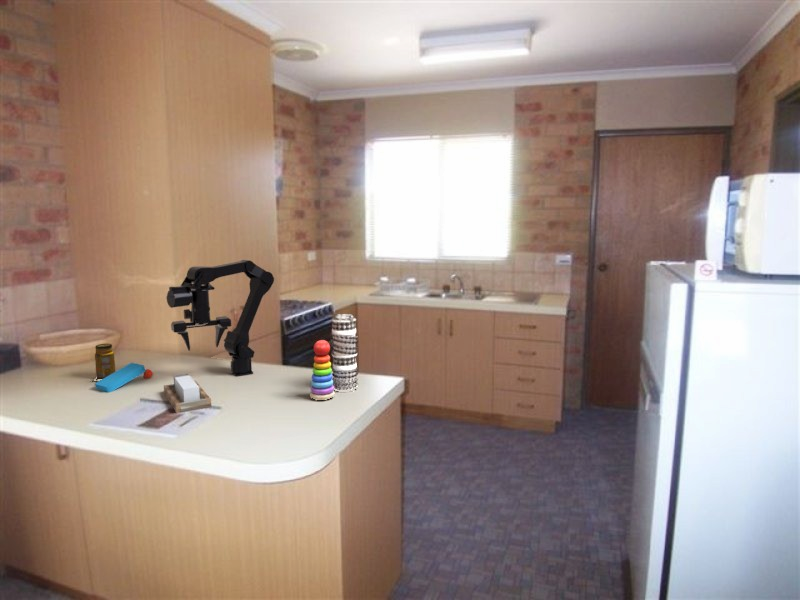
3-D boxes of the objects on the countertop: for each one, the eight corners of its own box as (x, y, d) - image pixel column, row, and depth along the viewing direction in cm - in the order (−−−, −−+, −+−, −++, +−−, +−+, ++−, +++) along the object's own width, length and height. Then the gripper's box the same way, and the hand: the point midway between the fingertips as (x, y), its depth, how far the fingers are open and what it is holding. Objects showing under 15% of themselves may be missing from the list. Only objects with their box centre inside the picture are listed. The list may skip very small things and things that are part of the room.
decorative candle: (325, 388, 183) (323, 315, 179) (346, 382, 189) (345, 311, 185) (343, 395, 176) (342, 319, 172) (364, 388, 183) (363, 314, 179)
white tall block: (200, 402, 167) (199, 386, 166) (184, 405, 164) (183, 389, 164) (189, 388, 180) (188, 373, 179) (174, 390, 178) (173, 375, 177)
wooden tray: (164, 392, 179) (163, 385, 178) (195, 387, 184) (195, 380, 184) (176, 413, 161) (175, 405, 160) (211, 406, 166) (211, 398, 166)
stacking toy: (305, 399, 172) (303, 341, 169) (318, 392, 179) (316, 336, 176) (327, 403, 169) (325, 344, 166) (339, 395, 176) (338, 338, 173)
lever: (113, 405, 181) (159, 377, 195) (106, 387, 179) (152, 360, 192) (101, 401, 185) (147, 374, 199) (94, 383, 182) (140, 357, 196)
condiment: (119, 374, 199) (116, 342, 197) (112, 381, 191) (110, 347, 189) (97, 375, 198) (94, 343, 196) (90, 382, 190) (86, 349, 188)
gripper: (222, 298, 197) (224, 340, 199) (166, 303, 187) (169, 347, 190) (230, 302, 188) (233, 346, 190) (172, 307, 178) (176, 354, 180)
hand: (203, 348), depth 188 cm, fingers open, 9 cm apart
